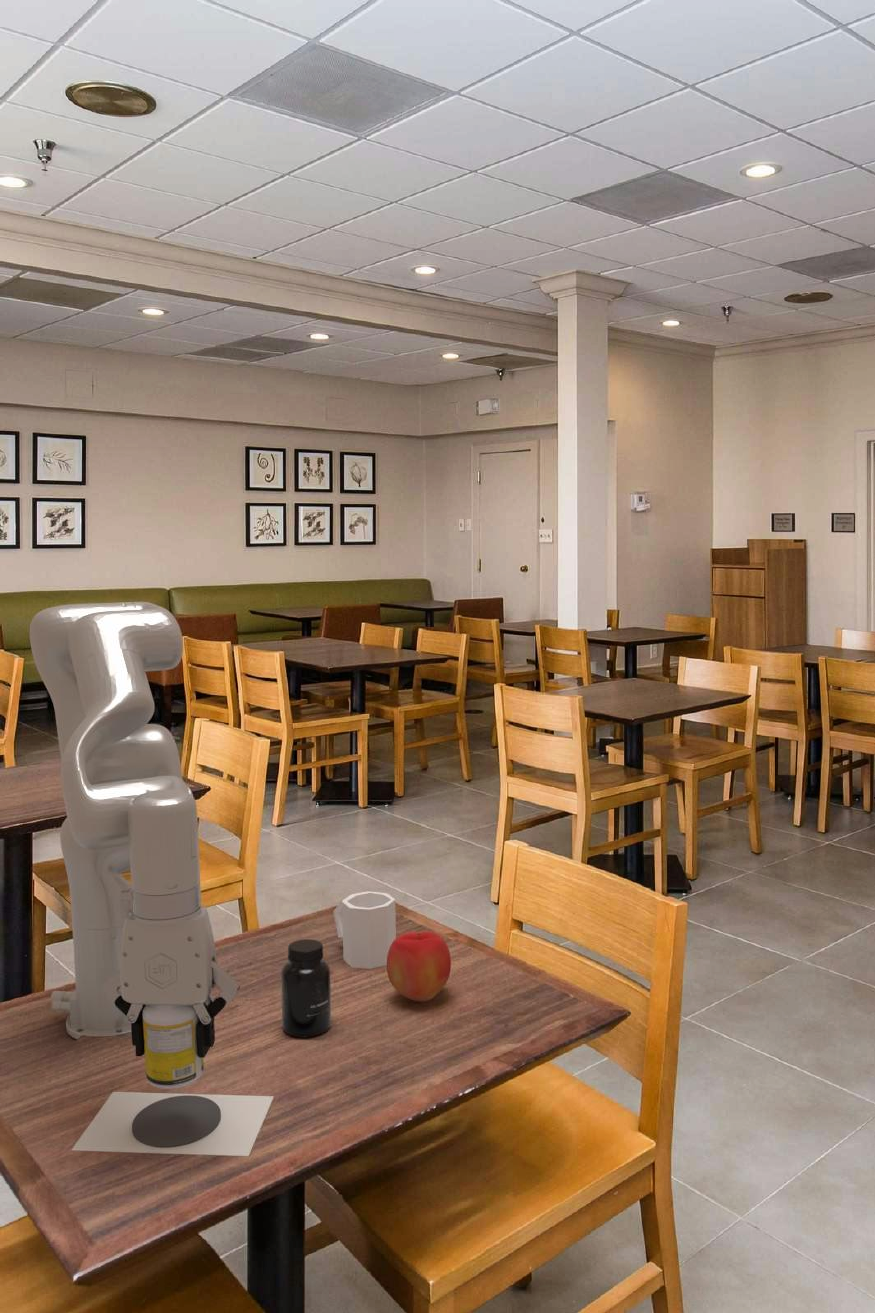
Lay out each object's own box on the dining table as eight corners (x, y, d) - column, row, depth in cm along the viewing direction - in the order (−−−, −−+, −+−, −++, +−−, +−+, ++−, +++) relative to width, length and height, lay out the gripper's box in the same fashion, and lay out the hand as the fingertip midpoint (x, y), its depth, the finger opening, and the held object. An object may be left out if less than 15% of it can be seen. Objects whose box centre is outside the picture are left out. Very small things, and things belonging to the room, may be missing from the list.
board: (71, 1160, 114) (71, 1150, 113) (113, 1100, 125) (113, 1091, 125) (248, 1166, 112) (248, 1155, 112) (274, 1105, 124) (273, 1096, 124)
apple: (461, 1005, 150) (461, 939, 149) (400, 1017, 146) (399, 950, 145) (437, 979, 159) (436, 917, 158) (379, 990, 155) (378, 926, 154)
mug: (406, 956, 167) (404, 898, 166) (368, 973, 161) (367, 913, 160) (355, 938, 175) (353, 883, 174) (317, 954, 169) (315, 896, 168)
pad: (118, 1146, 114) (118, 1142, 114) (150, 1097, 124) (149, 1094, 124) (206, 1148, 113) (206, 1145, 113) (231, 1099, 123) (231, 1096, 123)
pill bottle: (181, 1057, 122) (176, 963, 121) (215, 1074, 118) (211, 977, 117) (134, 1079, 117) (129, 982, 116) (168, 1098, 113) (163, 997, 112)
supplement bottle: (322, 1041, 140) (320, 956, 138) (275, 1036, 141) (272, 953, 140) (337, 1017, 146) (335, 937, 145) (292, 1014, 148) (289, 934, 146)
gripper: (78, 911, 112) (87, 1066, 114) (233, 913, 111) (239, 1069, 113) (105, 888, 120) (113, 1034, 122) (250, 889, 119) (256, 1037, 121)
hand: (174, 1050), depth 117 cm, fingers closed on pill bottle, 6 cm apart
